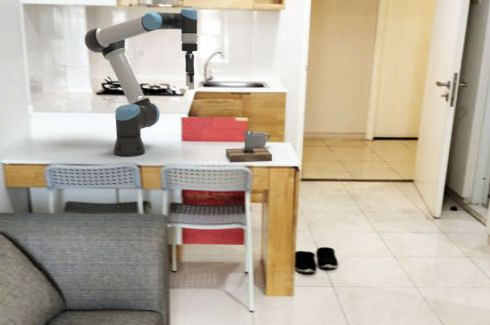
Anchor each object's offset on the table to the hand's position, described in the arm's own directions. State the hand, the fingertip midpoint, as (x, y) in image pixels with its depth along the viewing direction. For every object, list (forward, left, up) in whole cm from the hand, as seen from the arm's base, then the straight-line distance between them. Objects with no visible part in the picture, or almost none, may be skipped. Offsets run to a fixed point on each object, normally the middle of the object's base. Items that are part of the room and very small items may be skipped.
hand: (189, 87), depth 256 cm
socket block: (+12, +27, -33) cm, 44 cm away
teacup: (-7, +36, -33) cm, 49 cm away
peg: (+12, +27, -33) cm, 44 cm away
